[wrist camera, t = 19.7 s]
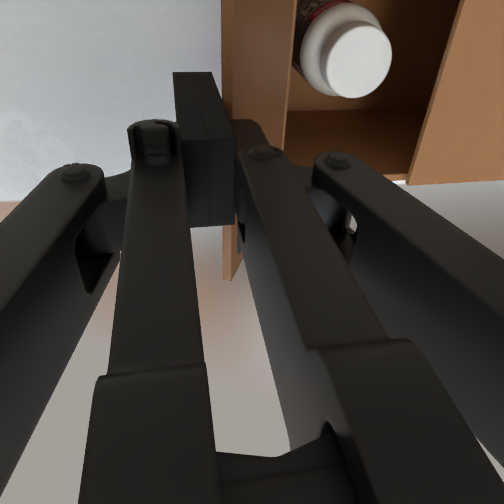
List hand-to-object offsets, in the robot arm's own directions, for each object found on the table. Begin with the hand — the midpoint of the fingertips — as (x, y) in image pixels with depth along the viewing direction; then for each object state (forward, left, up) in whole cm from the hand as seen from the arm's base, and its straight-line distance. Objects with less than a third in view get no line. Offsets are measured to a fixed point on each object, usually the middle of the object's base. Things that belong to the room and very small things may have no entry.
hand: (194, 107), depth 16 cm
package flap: (+2, -2, 0) cm, 3 cm away
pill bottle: (+7, -7, -17) cm, 20 cm away
